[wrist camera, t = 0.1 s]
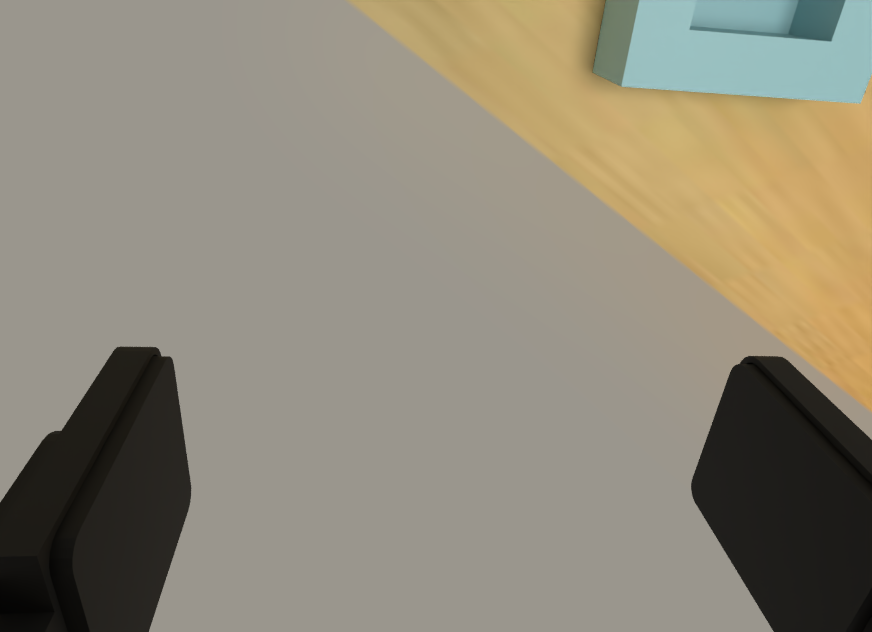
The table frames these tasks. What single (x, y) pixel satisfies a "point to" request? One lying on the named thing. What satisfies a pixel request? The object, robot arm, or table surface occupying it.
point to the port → (739, 47)
